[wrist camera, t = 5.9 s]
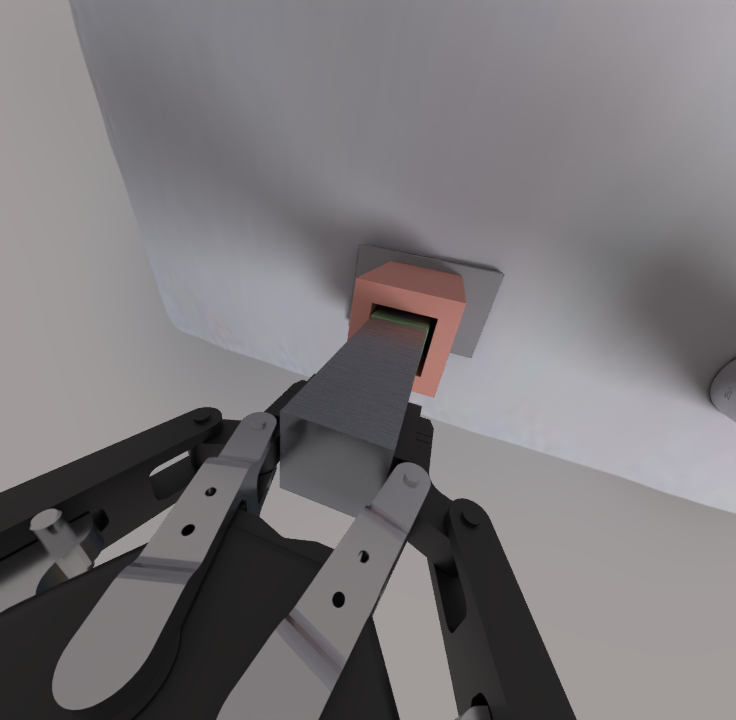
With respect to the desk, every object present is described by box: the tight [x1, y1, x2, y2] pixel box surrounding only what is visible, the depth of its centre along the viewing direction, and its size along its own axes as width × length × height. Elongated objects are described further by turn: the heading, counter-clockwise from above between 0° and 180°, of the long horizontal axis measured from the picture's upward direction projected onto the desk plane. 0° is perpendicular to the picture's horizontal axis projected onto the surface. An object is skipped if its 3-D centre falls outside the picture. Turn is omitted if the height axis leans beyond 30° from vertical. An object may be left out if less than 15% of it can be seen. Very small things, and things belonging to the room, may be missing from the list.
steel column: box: [280, 305, 431, 518], centre depth 18 cm, size 4×4×18 cm
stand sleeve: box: [347, 244, 504, 398], centre depth 26 cm, size 16×10×15 cm, turn 80°
